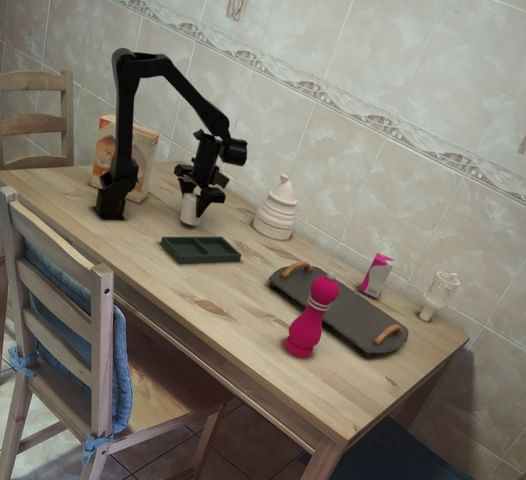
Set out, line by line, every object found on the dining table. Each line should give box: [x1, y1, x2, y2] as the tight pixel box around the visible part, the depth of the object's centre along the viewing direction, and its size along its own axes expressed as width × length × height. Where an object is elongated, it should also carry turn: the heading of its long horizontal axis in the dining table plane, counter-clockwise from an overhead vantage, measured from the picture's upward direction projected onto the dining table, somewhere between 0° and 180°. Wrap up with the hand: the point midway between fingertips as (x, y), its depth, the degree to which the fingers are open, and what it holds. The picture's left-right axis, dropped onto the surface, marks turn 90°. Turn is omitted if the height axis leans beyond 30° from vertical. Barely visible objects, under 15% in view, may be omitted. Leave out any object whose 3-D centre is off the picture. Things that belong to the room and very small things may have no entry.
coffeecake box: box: [90, 113, 160, 204], centre depth 145 cm, size 15×7×20 cm, turn 82°
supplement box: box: [358, 252, 396, 300], centre depth 148 cm, size 6×6×12 cm
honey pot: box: [252, 173, 299, 241], centre depth 161 cm, size 13×13×18 cm
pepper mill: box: [284, 271, 339, 358], centre depth 108 cm, size 7×7×20 cm
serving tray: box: [268, 261, 409, 359], centre depth 132 cm, size 39×23×6 cm, turn 49°
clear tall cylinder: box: [419, 270, 461, 322], centre depth 146 cm, size 7×7×15 cm
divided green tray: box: [160, 236, 242, 265], centre depth 135 cm, size 19×10×2 cm, turn 128°
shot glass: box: [179, 192, 204, 226], centre depth 144 cm, size 7×7×7 cm
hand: (191, 212), depth 145 cm, fingers closed on shot glass, 6 cm apart
